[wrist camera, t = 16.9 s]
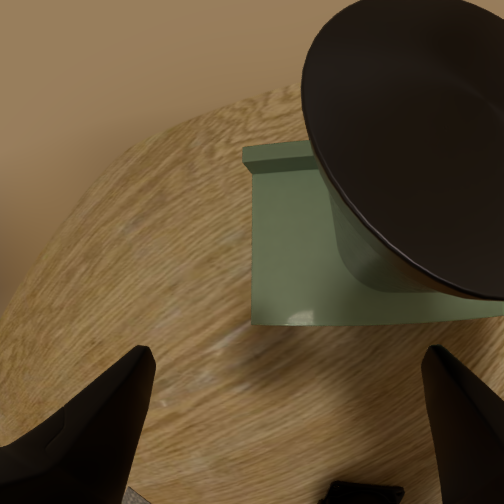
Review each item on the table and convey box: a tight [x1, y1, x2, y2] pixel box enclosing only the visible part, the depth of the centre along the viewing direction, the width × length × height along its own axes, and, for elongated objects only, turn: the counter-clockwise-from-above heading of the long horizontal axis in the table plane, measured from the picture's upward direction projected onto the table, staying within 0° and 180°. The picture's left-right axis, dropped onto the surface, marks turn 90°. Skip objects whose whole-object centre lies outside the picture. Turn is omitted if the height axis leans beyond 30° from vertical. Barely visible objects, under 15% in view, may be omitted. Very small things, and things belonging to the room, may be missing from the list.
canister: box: [301, 0, 504, 301], centre depth 10 cm, size 7×7×13 cm
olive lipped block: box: [242, 140, 504, 326], centre depth 17 cm, size 10×16×7 cm, turn 90°
